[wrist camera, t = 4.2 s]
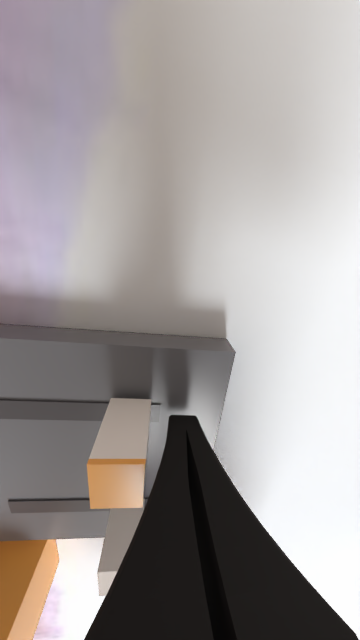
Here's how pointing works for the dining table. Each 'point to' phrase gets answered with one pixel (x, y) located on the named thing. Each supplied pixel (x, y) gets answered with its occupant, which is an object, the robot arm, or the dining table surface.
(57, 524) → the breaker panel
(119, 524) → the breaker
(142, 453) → the block
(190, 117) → the dining table surface
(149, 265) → the dining table surface
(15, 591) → the cap
